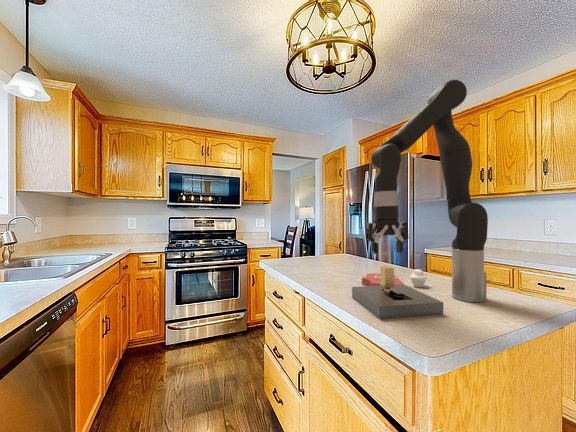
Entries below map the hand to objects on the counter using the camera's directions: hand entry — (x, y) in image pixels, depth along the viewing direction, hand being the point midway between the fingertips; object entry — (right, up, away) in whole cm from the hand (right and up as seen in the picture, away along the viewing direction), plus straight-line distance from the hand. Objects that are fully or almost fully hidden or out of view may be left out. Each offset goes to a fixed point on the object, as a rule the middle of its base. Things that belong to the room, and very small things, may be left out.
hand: (387, 253), depth 90 cm
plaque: (+5, -17, +21) cm, 27 cm away
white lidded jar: (+19, -16, +18) cm, 31 cm away
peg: (0, -16, 0) cm, 16 cm away
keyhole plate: (+1, -16, -4) cm, 17 cm away
